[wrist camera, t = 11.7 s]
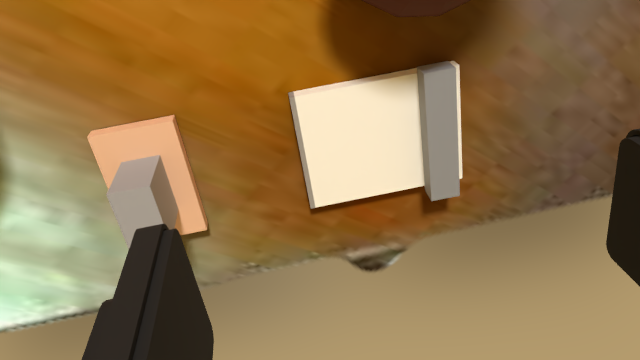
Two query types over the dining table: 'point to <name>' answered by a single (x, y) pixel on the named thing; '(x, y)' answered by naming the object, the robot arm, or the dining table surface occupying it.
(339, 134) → the base
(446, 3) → the muffin
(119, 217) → the pink base grey block
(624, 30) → the dining table surface
